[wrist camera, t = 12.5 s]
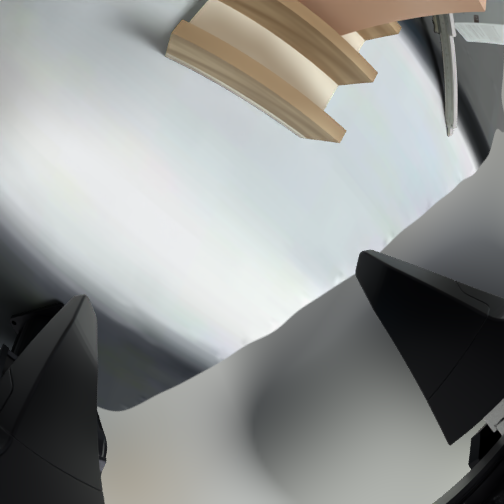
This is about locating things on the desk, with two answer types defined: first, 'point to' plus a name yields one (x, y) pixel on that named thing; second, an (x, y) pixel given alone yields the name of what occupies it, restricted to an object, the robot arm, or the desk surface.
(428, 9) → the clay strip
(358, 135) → the desk surface
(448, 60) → the caliper
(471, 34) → the skincare box
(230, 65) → the rack
